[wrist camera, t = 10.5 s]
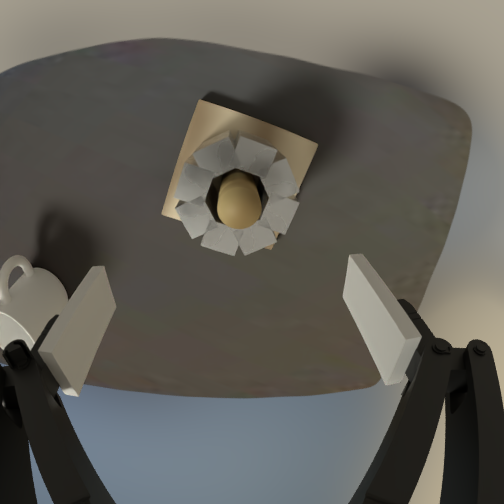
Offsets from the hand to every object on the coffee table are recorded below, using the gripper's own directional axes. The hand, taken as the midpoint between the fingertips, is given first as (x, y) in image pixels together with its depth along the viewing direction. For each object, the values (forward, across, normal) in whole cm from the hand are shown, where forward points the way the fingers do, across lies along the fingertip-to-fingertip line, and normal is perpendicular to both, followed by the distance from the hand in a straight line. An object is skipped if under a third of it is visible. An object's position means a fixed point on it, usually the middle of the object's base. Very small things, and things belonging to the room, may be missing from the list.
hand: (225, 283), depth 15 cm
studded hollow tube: (+15, +1, +2) cm, 15 cm away
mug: (+17, -26, -10) cm, 33 cm away
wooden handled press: (+16, +1, +2) cm, 17 cm away
